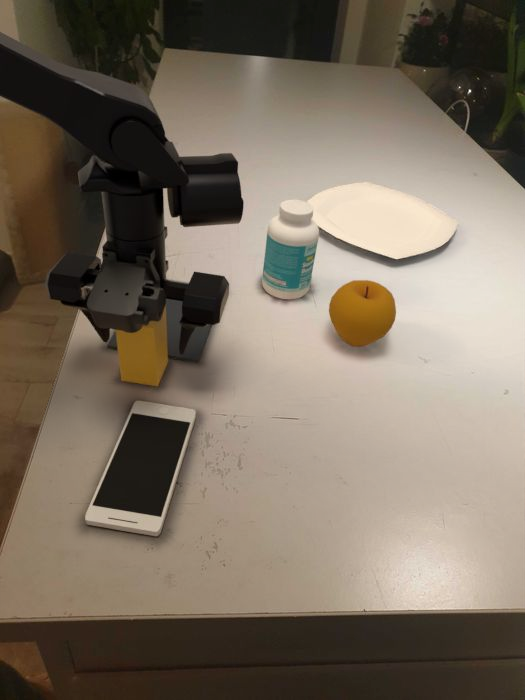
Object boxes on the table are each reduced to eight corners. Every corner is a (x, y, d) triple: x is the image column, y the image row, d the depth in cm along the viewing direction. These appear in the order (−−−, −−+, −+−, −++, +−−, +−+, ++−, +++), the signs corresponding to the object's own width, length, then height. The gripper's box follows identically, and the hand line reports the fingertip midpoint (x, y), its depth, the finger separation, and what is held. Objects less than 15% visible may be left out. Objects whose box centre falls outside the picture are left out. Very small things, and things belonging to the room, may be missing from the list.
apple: (352, 312, 78) (365, 260, 72) (400, 343, 74) (418, 291, 68) (310, 334, 73) (320, 280, 68) (358, 369, 69) (374, 315, 63)
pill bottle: (306, 305, 79) (321, 223, 70) (257, 297, 79) (266, 214, 70) (310, 278, 84) (325, 199, 75) (265, 271, 85) (274, 191, 76)
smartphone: (196, 414, 60) (196, 408, 60) (159, 537, 49) (159, 532, 48) (135, 404, 60) (135, 399, 60) (84, 524, 49) (82, 519, 48)
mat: (107, 348, 67) (106, 345, 67) (145, 280, 80) (145, 278, 79) (198, 363, 67) (198, 360, 67) (223, 293, 79) (223, 290, 79)
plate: (398, 280, 86) (401, 270, 85) (278, 217, 99) (279, 207, 98) (473, 232, 102) (477, 223, 101) (361, 183, 115) (363, 174, 114)
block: (121, 380, 63) (114, 322, 57) (133, 356, 67) (127, 298, 61) (157, 386, 63) (154, 328, 57) (167, 362, 67) (165, 304, 61)
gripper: (3, 254, 46) (36, 380, 57) (210, 286, 46) (206, 408, 56) (57, 200, 55) (78, 318, 65) (233, 226, 54) (226, 342, 64)
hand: (144, 346), depth 62 cm, fingers open, 9 cm apart
